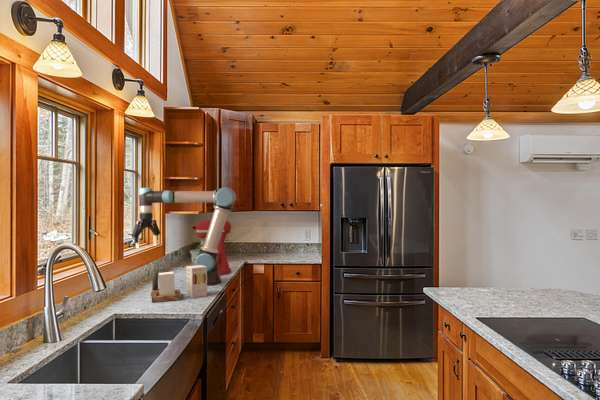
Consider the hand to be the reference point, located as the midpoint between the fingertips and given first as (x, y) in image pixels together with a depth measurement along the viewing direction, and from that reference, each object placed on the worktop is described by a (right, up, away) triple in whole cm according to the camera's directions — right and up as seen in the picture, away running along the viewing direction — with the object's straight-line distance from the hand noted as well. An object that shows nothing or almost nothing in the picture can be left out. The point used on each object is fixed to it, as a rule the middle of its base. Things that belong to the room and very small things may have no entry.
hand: (146, 246), depth 246 cm
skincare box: (+21, -27, -25) cm, 42 cm away
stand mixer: (+28, -26, +53) cm, 65 cm away
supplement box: (+36, -26, -17) cm, 47 cm away
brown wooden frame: (+18, -26, -18) cm, 36 cm away
